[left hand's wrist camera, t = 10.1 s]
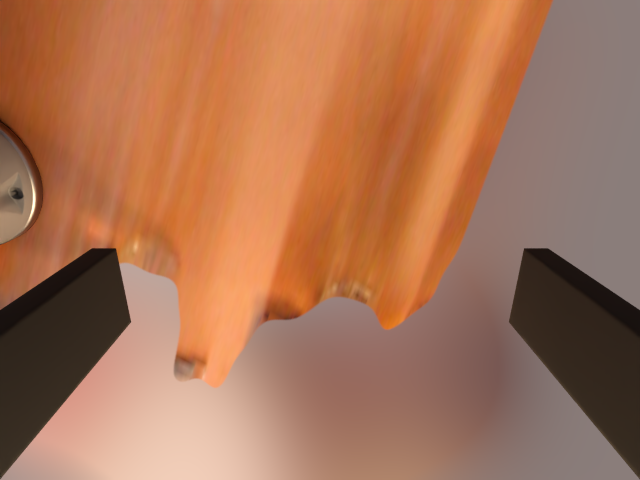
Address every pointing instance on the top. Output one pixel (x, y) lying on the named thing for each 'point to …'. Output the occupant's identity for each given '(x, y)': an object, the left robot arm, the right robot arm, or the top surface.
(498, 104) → the top surface
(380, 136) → the top surface
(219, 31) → the top surface
